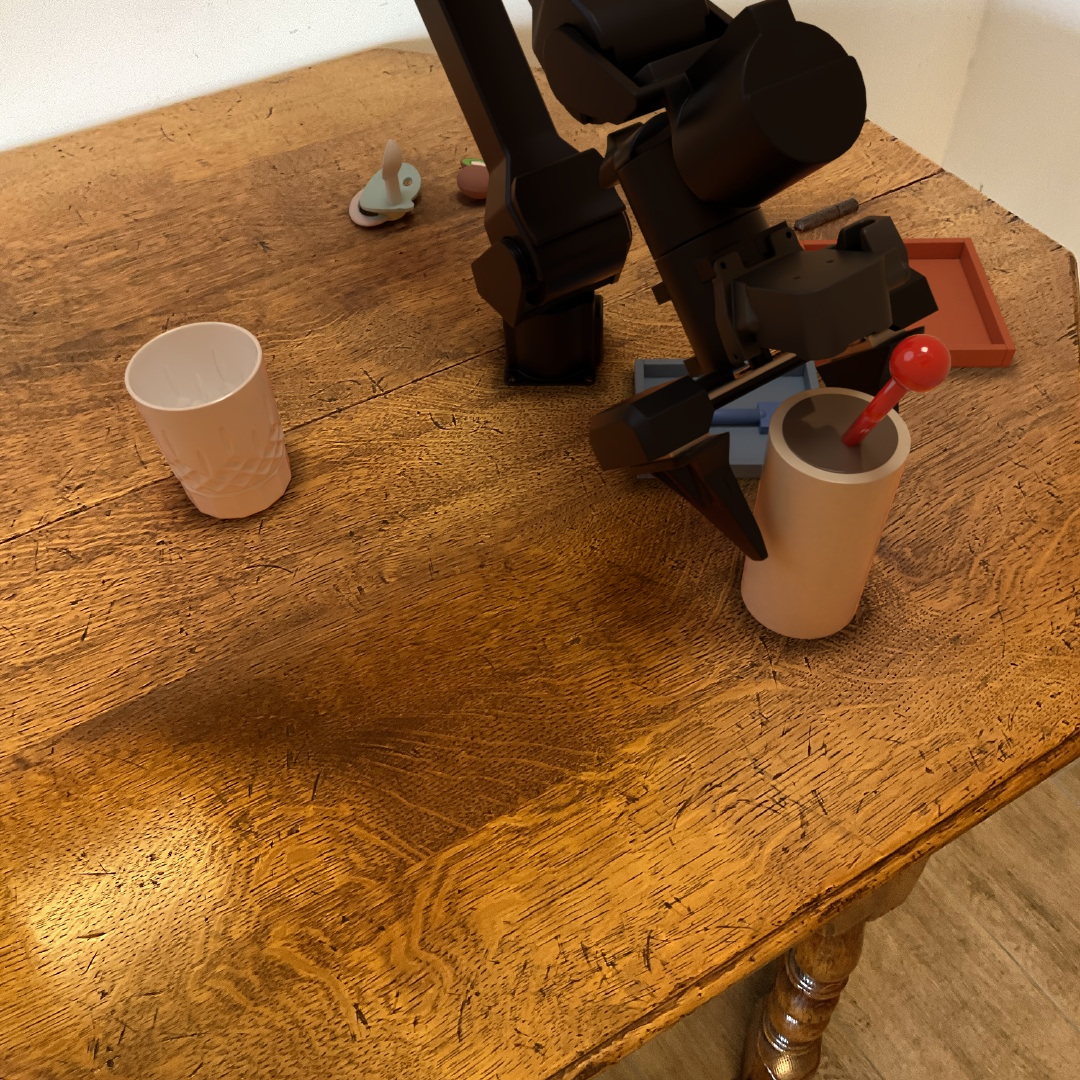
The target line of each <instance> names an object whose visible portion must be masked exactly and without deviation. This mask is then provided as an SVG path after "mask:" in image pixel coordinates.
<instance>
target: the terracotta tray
mask: <svg viewBox="0 0 1080 1080" xmlns="http://www.w3.org/2000/svg"><path fill="white" fill-rule="evenodd" d="M902 240H903V242H904V244H905V246H906V249H907V253H908V261H909V267H911V268H912V269H914V270H916V271H917V272H919V273H920V274H922V275H924V276H925V277H926V279H927V281H928V283H929V286H930V288H931V291H932V293H933V296H934V298H935V301H936V303H937V306H938V308H939V310H938V311H936V312H934V313H933V314H931V315H929V316H927V317H925V318H923V319H921V320H919V321H918V322H916V323H914V324H912V325H910V326H908V327H906V328H905V330H906V331H907V330H910V329H914V328H917V327H920V326H925V333H924V334H929V335H932V336H935V337H937V338H939V339H940V340H941V341H943V342H944V344H945V345H946V346H947V348H948V349H949V352H950V355H951V368H1009V367H1010V366H1011V363H1012V361H1013V358H1014V356H1015V353H1016V351H1017V348H1016V345H1015V343H1014V340H1013V338H1012V335H1011V333H1010V331H1009V328H1008V326H1007V323H1006V321H1005V318H1004V316H1003V314H1002V311H1001V308H1000V306H999V303H998V301H997V299H996V295H995V294H994V291H993V289H992V287H991V284H990V282H989V279H988V277H987V274H986V272H985V270H984V269H985V268H984V267H983V264H982V262H981V259H980V256H979V254H978V252H977V250H976V246H975V245H974V242H973V240H972V238H971V237H921V238H920V237H919V238H918V237H917V238H912V237H911V238H902ZM798 241H799V243H800V245H801V246H802V248H803V249H804V250H805V251H817V250H820V249H822V248H824V247H826V246H828V245H830V244H836V243H837V239H798ZM828 360H830V358H829V359H824V360H818V361H814V363H815V368H816V366H818V365H820V364H822V363H824V362H826V361H828Z"/></svg>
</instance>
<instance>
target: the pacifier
mask: <svg viewBox="0 0 1080 1080" xmlns="http://www.w3.org/2000/svg"><path fill="white" fill-rule="evenodd" d="M407 181H411V184H409V185H405V183H406V182H407ZM421 187H422V178H421V175H420V172H419V171H418V170H417V168H416V167H415V166H414V165H412V164H411V163H408V162H403V152H402V148H401V146H400V145H399V143H398V142H397V141H396V140H394V139H392V138H389V139H388V140H387V141H386V144H385V147H384V152H383V157H382V164H381V168H380V169H379V170H378V171H377V172H375V173H374V174H373V175H372V176H371V178H370V179H369V180H368V182H367V183H366V185H365V187H363V188H362V189H361V190H359V191H358V192H357V193H356V194H355V195H354V196H353V197H352V199H351V201H350V203H349V207H348V215H349V217H350V219H351V220H352V222H354V223H355V224H356V225H359V226H361V227H375V226H378V225H381V224H384V223H385V222H391V221H397V220H399V219H402V218H403V217H404V216H405V215H406V213H409V212H412V211H413V210H414V209H415V203H414V202H413V201H414V200H415V199H416V198H417V196H418V195H419V194H420V192H421ZM360 209H362V210H364V211H366V212H369V213H376V214H378V215H373V216H369V215H364V214H363V213H361V212H360Z"/></svg>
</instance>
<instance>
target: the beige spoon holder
mask: <svg viewBox="0 0 1080 1080" xmlns="http://www.w3.org/2000/svg"><path fill="white" fill-rule="evenodd" d="M951 368H952V367H951V355H950V352H949V349H948V348H947V346H946V345H945V344H944V342H943V341H941V340H940V339H939V338H937V337H935V336H932V335H929V334H916V335H912V336H909V337H907V338H905V339H904V340H902V341H901V342H900V343H899V344H898V345H897V346H896V347H895V348H894V350H893V352H892V354H891V356H890V361H889V370H890V374H891V376H892V378H891V379H890V380H889V381H888V382H887V384H886V385H885V386H884V387H883V388H882V389H881V391H880V392H879V393H878V394H877V395H876V396H875V397H873V396H871V395H868V394H866V393H863V392H860V391H856V390H851V389H846V388H836V387H826V386H824V387H820V388H815V389H810V390H806V391H803V392H800V393H797V394H795V395H793V396H791V397H789V398H788V399H786V400H785V401H784V402H782V403H781V404H780V405H779V406H778V408H777V409H776V410H775V412H774V413H773V415H772V417H771V420H770V424H769V430H768V435H767V441H766V447H765V452H764V458H763V463H762V469H761V475H760V478H759V481H758V486H757V493H756V497H755V503H754V508H753V513H752V514H753V516H754V518H755V520H756V522H757V524H758V526H759V529H760V531H761V534H762V537H763V540H764V543H765V546H766V549H767V552H768V558H767V559H765V560H763V561H753V560H751V559H750V558H749V557H748V556H747V555H746V554H745V560H744V565H743V570H742V576H741V582H740V592H741V597H742V601H743V603H744V605H745V607H746V609H747V610H748V611H749V613H750V614H751V615H752V617H753V618H754V619H755V620H756V621H758V622H759V623H760V624H761V625H763V626H764V627H765V628H767V629H769V630H771V631H772V632H774V633H776V634H779V635H781V636H785V637H788V638H794V639H801V640H814V639H821V638H826V637H828V636H831V635H833V634H836V633H838V632H839V631H841V630H842V629H844V628H845V627H846V626H848V625H849V624H850V622H851V621H852V620H853V619H854V617H855V615H856V613H857V610H858V607H859V604H860V602H861V598H862V596H863V593H864V590H865V587H866V583H867V580H868V577H869V574H870V571H871V568H872V566H873V562H874V560H875V557H876V553H877V551H878V547H879V545H880V542H881V540H882V536H883V533H884V531H885V527H886V524H887V521H888V518H889V515H890V512H891V509H892V507H893V504H894V500H895V497H896V494H897V491H898V488H899V486H900V482H901V480H902V476H903V473H904V470H905V468H906V464H907V462H908V460H909V456H910V453H911V448H912V439H911V433H910V431H909V428H908V426H907V424H906V422H905V421H904V419H903V417H902V416H901V415H900V413H899V414H898V413H897V412H896V411H895V410H894V409H892V408H893V407H894V406H895V405H896V404H897V403H898V402H899V403H900V401H901V400H902V399H903V397H904V396H906V395H907V393H908V392H909V393H912V394H913V393H914V394H922V393H923V394H924V393H928V392H930V391H933V390H935V389H936V388H938V387H939V386H941V385H942V384H943V383H944V382H945V381H946V379H947V378H948V376H949V375H950V371H951Z"/></svg>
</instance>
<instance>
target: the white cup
mask: <svg viewBox="0 0 1080 1080" xmlns="http://www.w3.org/2000/svg"><path fill="white" fill-rule="evenodd" d="M124 384H125V385H124V386H125V388H126V391H127V392H128V394H129V396H130V398H131V400H132V402H133V403H134V405H135V407H136V408H137V410H138V412H139V414H140V416H141V418H142V420H143V421H144V424H145V425H146V427H147V429H148V430H149V432H150V434H151V437H152V439H153V440H154V441H155V444H156V445H157V447H158V449H159V451H160V453H161V454H162V456H163V457H164V460H165V461H166V462H167V465H168V466H169V468H170V469H171V471H172V473H173V474H174V476H175V478H176V479H177V480H178V481H179V482H180V484H181V486H182V488H183V490H184V492H185V493H186V496H187V497H188V499H189V500H190V502H191V503H192V504H193V505H194V506H195V508H196V509H197V510H198V511H199V512H200V513H202V514H205V515H208V516H210V517H214V518H216V519H220V520H223V519H225V520H226V519H242V518H243V519H244V518H246V517H249V516H251V515H254V514H257V513H259V512H262V511H265V510H267V509H268V508H269V507H271V506H272V505H273V504H274V503H275V502H277V501H278V500H279V499H280V498H281V497H282V496H284V494H285V492H286V490H287V488H288V486H289V484H290V482H291V479H292V471H291V464H290V463H291V461H290V458H289V454H288V451H287V448H286V444H285V443H286V442H285V441H286V437H285V433H284V430H283V427H282V421H281V416H280V413H279V409H278V405H277V401H276V398H275V397H276V396H275V394H274V390H273V387H272V383H271V379H270V375H269V371H268V367H267V364H266V361H265V356H264V353H263V348H262V346H261V344H260V341H259V340H258V339H257V337H256V336H255V335H254V334H253V333H252V332H251V331H249V330H248V329H245V328H244V327H242V326H240V325H237V324H233V323H228V322H224V321H199V322H194V323H188V324H184V325H181V326H178V327H177V326H176V327H174V328H171V329H169V330H167V331H165V332H163V333H160V334H159V335H157V336H155V337H153V338H152V339H150V340H149V341H147V342H146V343H144V344H143V345H142V346H141V347H140V348H139V349H138V350H137V351H136V352H135V353H134V354H133V355H132V357H131V359H129V362H128V363H127V365H126V368H125V371H124Z"/></svg>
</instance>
